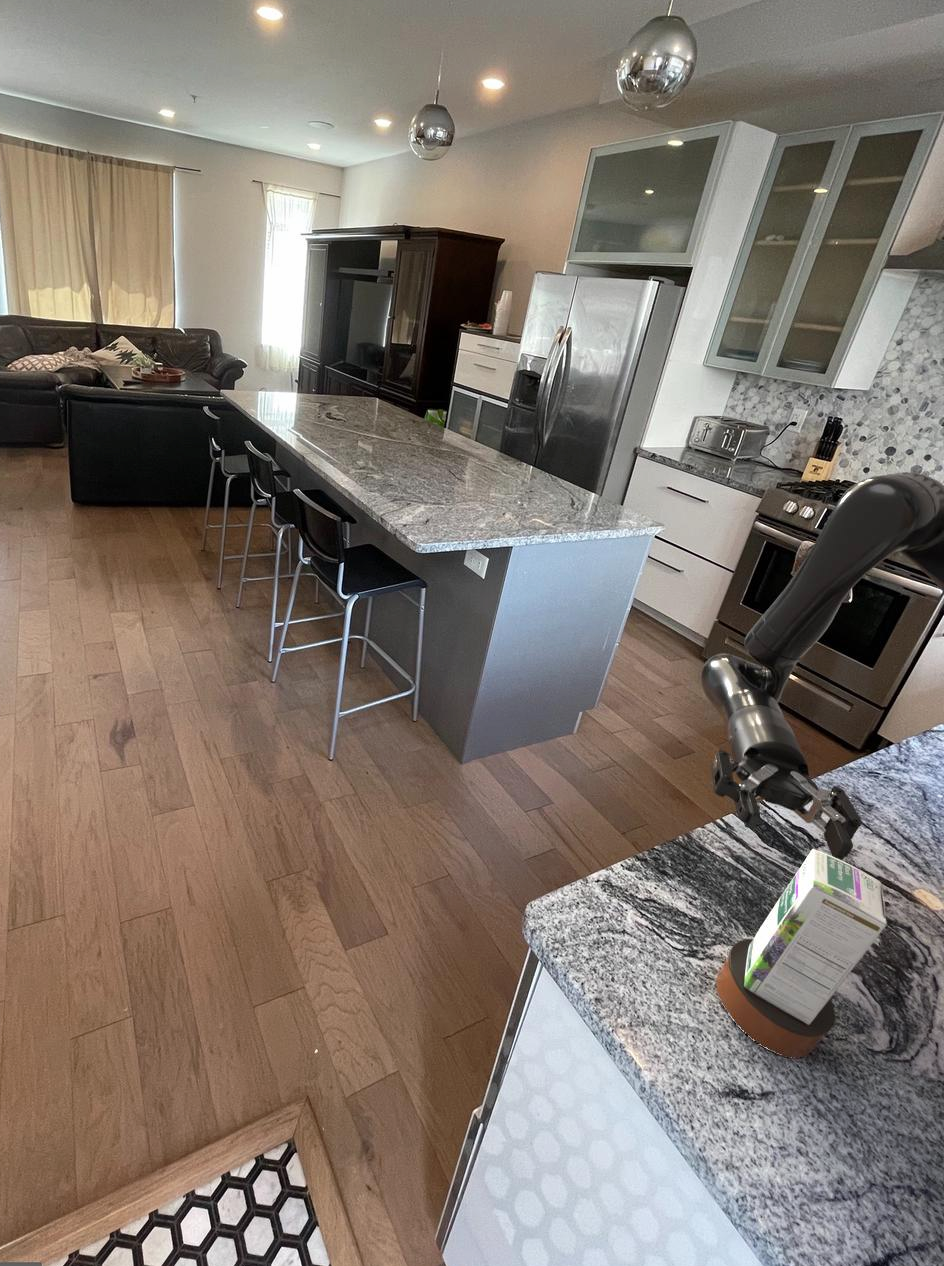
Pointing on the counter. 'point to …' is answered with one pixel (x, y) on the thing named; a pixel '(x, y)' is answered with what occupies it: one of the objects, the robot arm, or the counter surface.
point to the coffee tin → (767, 1011)
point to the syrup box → (815, 935)
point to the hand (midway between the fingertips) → (797, 837)
